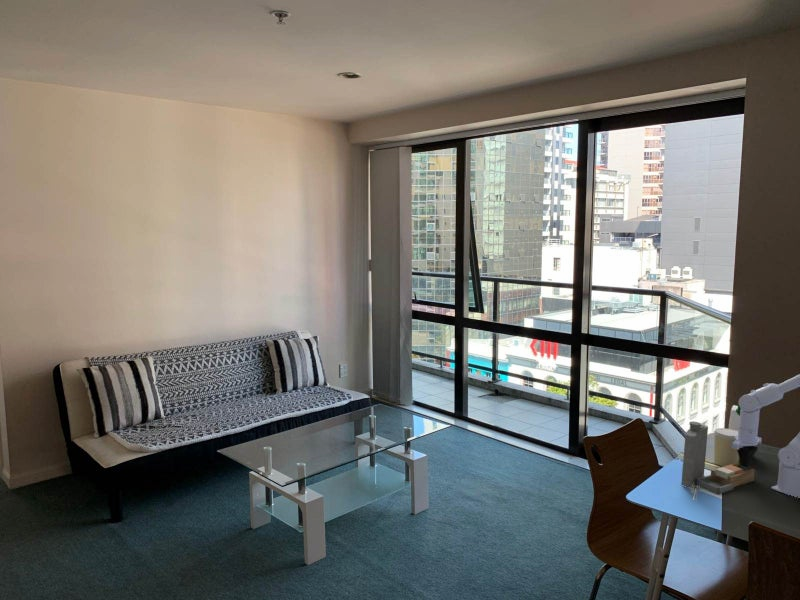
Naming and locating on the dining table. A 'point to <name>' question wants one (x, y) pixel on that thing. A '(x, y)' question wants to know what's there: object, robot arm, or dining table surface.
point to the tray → (713, 485)
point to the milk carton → (734, 418)
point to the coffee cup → (725, 447)
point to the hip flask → (694, 453)
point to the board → (734, 477)
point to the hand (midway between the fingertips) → (744, 466)
